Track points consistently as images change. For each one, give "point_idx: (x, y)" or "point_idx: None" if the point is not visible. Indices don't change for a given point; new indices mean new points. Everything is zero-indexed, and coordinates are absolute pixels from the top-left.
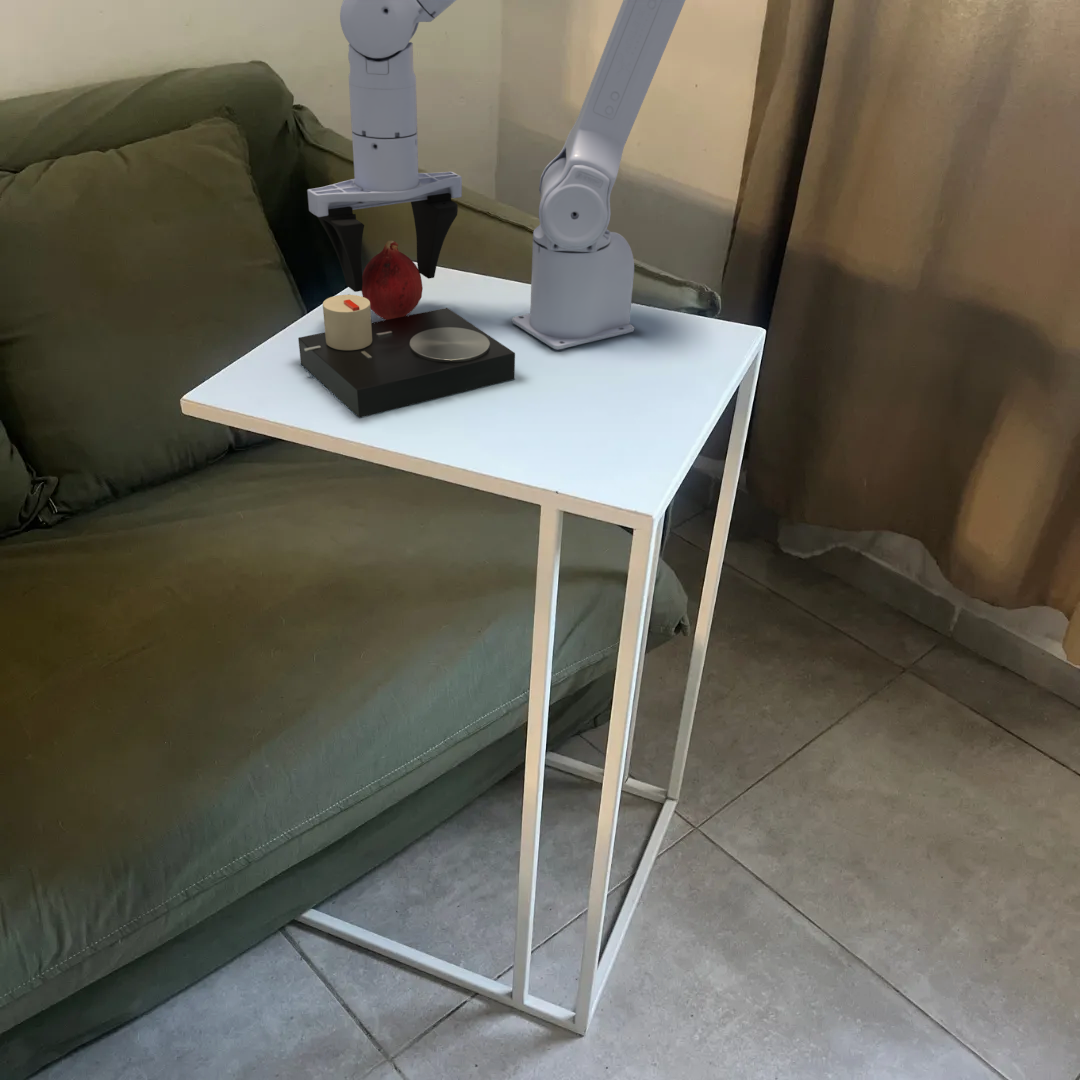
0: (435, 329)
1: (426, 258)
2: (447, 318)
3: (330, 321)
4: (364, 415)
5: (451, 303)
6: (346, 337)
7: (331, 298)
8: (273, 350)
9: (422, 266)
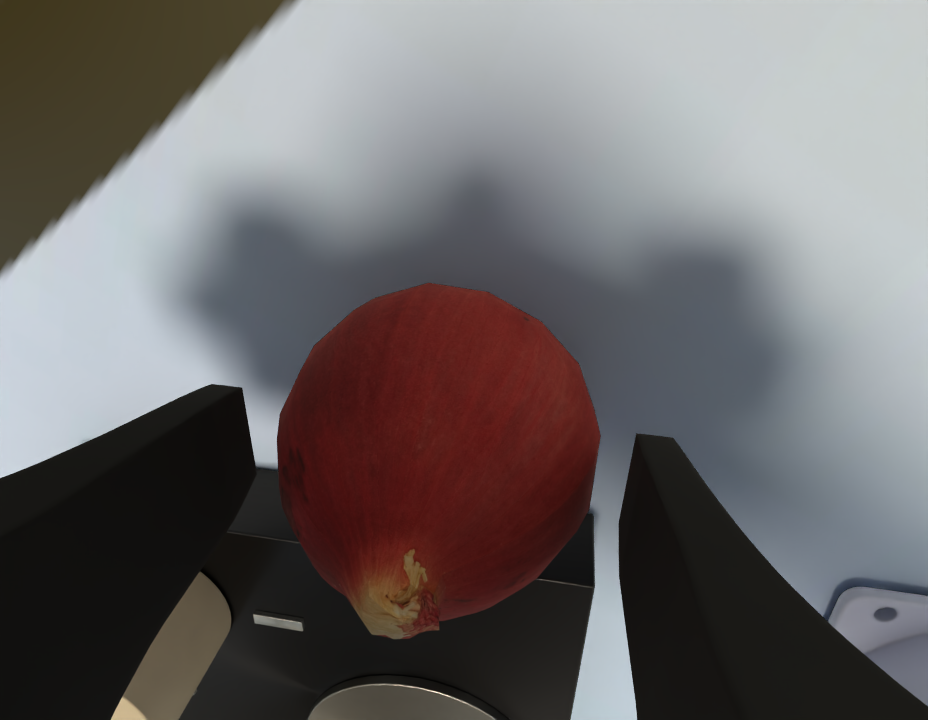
0: (428, 695)
1: (635, 583)
2: (530, 644)
3: None
4: None
5: (830, 307)
6: None
7: None
8: (15, 320)
9: (632, 504)
